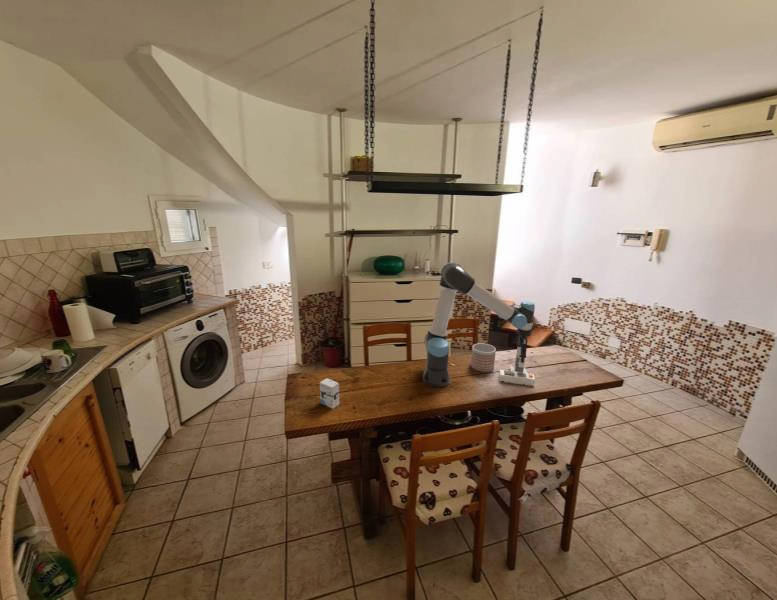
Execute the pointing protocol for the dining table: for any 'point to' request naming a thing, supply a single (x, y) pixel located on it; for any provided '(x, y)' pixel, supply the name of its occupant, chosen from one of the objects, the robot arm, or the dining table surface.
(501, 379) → the power strip
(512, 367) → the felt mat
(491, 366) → the planter
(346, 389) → the dining table surface
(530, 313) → the robot arm
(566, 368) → the dining table surface
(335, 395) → the ink box
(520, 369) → the charger
